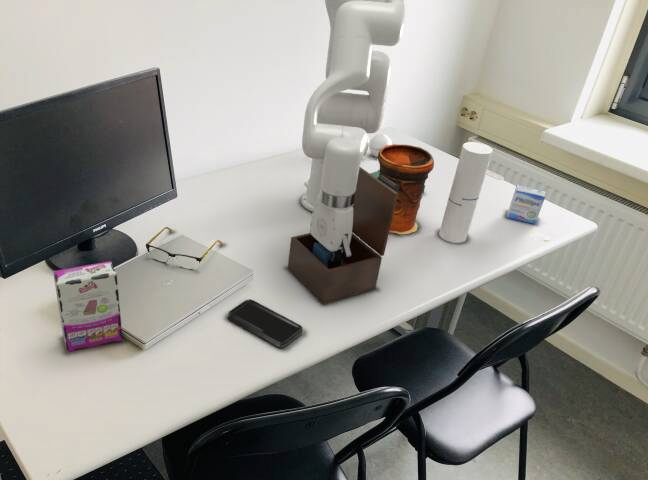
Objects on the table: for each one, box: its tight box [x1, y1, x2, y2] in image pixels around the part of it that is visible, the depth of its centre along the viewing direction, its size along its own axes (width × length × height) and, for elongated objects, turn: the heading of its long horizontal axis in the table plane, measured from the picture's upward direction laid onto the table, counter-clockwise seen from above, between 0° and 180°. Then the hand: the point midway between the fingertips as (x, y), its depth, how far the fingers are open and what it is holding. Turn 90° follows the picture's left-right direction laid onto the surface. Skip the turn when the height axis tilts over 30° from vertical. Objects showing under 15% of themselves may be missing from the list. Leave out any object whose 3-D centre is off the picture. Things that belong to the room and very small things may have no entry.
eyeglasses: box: [145, 226, 224, 263], centre depth 158 cm, size 14×14×4 cm
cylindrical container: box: [438, 141, 494, 244], centre depth 167 cm, size 7×7×25 cm
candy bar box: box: [52, 261, 123, 353], centre depth 126 cm, size 11×5×16 cm, turn 114°
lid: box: [352, 166, 399, 257], centre depth 148 cm, size 16×16×6 cm
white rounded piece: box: [368, 133, 393, 158], centre depth 211 cm, size 10×7×7 cm
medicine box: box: [506, 184, 547, 225], centre depth 183 cm, size 8×4×9 cm, turn 68°
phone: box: [227, 299, 303, 349], centre depth 138 cm, size 8×1×15 cm
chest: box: [287, 232, 383, 305], centre depth 152 cm, size 15×16×9 cm
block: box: [313, 242, 343, 268], centre depth 150 cm, size 5×5×6 cm
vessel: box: [377, 143, 435, 236], centre depth 172 cm, size 14×14×20 cm
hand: (326, 266), depth 151 cm, fingers closed on block, 5 cm apart
